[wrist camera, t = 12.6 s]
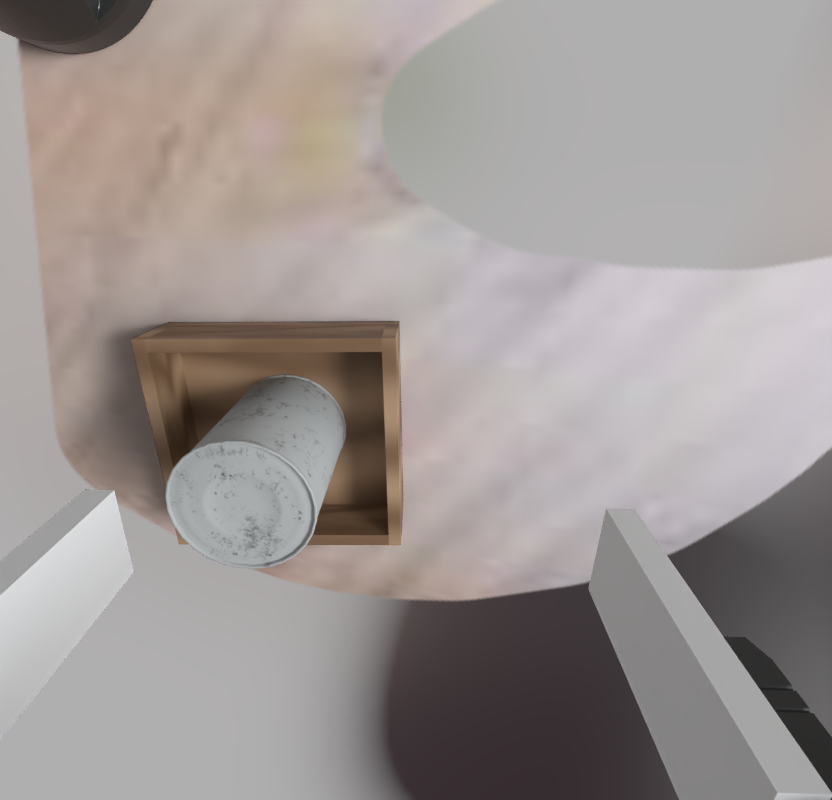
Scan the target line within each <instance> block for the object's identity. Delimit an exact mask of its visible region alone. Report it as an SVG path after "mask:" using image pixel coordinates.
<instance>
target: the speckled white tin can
mask: <svg viewBox="0 0 832 800" xmlns="http://www.w3.org/2000/svg"><path fill="white" fill-rule="evenodd" d="M345 438H346V422H345V418H344V414H343V412H342V410H341V408H340V406H339V404H338V402H337V401H336V400H335V398H334V397H333V396H332V395H331V393H330V392H328V391H327V390H326V389H325V388H323V387H322V386H321V385H319V384H317V383H315V382H314V381H312V380H310V379H307V378H303V377H300V376H296V375H277V376H271V377H268V378H266V379H263V380H261V381H259V382H257V383H256V384H254V385H253V386H252V387H250V388H249V389H248V391H247V392H246V393H245V394H244V395H243V397H242V398H241V399H240V400H239V401H238V402H237V403H236V404H235V405H234V407H233V408H232V409H231V410H230V411H229V412H228V413H227V414H226V415H225V416H224V417H223V418H222V419H221V420H220V421H219V422H218V423H217V424H216V425H215V426H214V427H213V428H212V429H211V430H210V431H209V432H208V434H207V435H206V436H205V437H204V438H203V439H202V440H201V441H200V442H199V443H198V444H197V445H196V446H195V447H194V448H193V449H192V450H191V451H190V452H189V453H187V454H186V455H185V456H183V457H182V458H181V459H180V461H179V462H178V463H177V464H176V466H175V467H174V468H173V469H172V472H171V474H170V476H169V479H168V481H167V486H166V494H165V499H166V506H167V512H168V514H169V516H170V519H171V521H172V524H173V526H174V527H175V528H176V530H177V531H178V533H179V534H180V535H181V537H182V538H183V539H184V540H185V541H186V542H187V543H188V544H189V545H190V546H191V547H192V548H193V549H195V550H197V551H198V552H200V553H202V554H203V555H204V556H206V557H207V558H209V559H212V560H214V561H216V562H219V563H221V564H224V565H228V566H232V567H237V568H248V569H258V568H266V567H272V566H275V565H278V564H281V563H284V562H285V561H287V560H289V559H291V558H292V557H294V556H296V555H297V554H298V553H299V552H300V551H301V550H302V549H303V548H304V547H305V546H306V545H307V544H308V542H309V540H310V538H311V537H312V535H313V533H314V530H315V526H316V522H317V517H318V514H319V511H320V508H321V506H322V503H323V500H324V497H325V494H326V491H327V488H328V485H329V482H330V480H331V477H332V474H333V471H334V468H335V465H336V462H337V459H338V456H339V453H340V451H341V449H342V448H343V445H344V441H345Z"/></svg>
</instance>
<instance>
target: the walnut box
mask: <svg viewBox="0 0 832 800" xmlns="http://www.w3.org/2000/svg"><path fill="white" fill-rule="evenodd" d="M131 344H132V348H133V352H134V356H135V361H136V365H137V369H138V373H139V377H140V382H141V386H142V390H143V394H144V398H145V403H146V407H147V411H148V415H149V419H150V424H151V428H152V432H153V436H154V441H155V445H156V449H157V453H158V457H159V462H160V466H161V470H162V474H163V478H164V483H165V487H166V486H167V481H168V479H169V476H170V474H171V472H172V469H173V468H174V467H175V466H176V464H177V463H178V462H179V461H180V459H181V458H182V457H183V456H185V455H186V454H187V453H189V452H190V451H191V450H192V449H193V448H194V447H195V446H196V445H197V444H198V443H199V442H200V441H201V440H202V439H203V438H204V437H205V436H206V435H207V434H208V432H209V431H210V430H211V429H212V428H213V427H214V426H215V425H216V424H217V423H218V422H219V421H220V420H221V419H222V418H223V417H224V416H225V415H226V414H227V413H228V412H229V411H230V410H231V409H232V408H233V407H234V405H235V404H236V403H237V402H238V401H239V400H240V399H241V398H242V397H243V395H244V394H245V393H246V392H247V391H248V389H249V388H250V387H252V386H253V385H254V384H256V383H257V382H259V381H261V380H263V379H266V378H268V377H271V376H277V375H296V376H300V377H303V378H307V379H310V380H312V381H314V382H315V383H317V384H319V385H321V386H322V387H323V388H325V389H326V390H327V391H328V392H330V393H331V395H332V396H333V397H334V398H335V400H336V401H337V402H338V404H339V406H340V408H341V410H342V412H343V414H344V418H345V422H346V438H345V441H344V445H343V448H342V449H341V451H340V453H339V456H338V459H337V462H336V465H335V468H334V471H333V474H332V477H331V480H330V482H329V485H328V488H327V491H326V494H325V497H324V500H323V503H322V506H321V508H320V511H319V514H318V517H317V522H316V526H315V530H314V533H313V535H312V537H311V538H310V540H309V542H308V544H307V545H401V534H402V520H403V469H402V423H401V377H400V331H399V321H347V322H168V323H166V324H164V325H162V326H159V327H157V328H155V329H153V330H150V331H148V332H146V333H144V334H141V335H139V336H137V337H135V338H132V339H131ZM175 529H176V528H175ZM176 533H177V537H178V541H179V544H188V543H187V542H186V541H185V540H184V539H183V538H182V537H181V535H180V534H179V533H178V531H177V530H176Z"/></svg>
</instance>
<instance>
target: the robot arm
mask: <svg viewBox="0 0 832 800" xmlns="http://www.w3.org/2000/svg"><path fill="white" fill-rule="evenodd" d="M152 1H153V0H0V30H1V31H2V32H5V33H7V34H9V35H11V36H13V37H16V38H18V39H20V40H23V41H25V42H28V43H30V44H32V45H35V46H38V47H40V48H43V49H47V50H50V51H55V52H61V53H87V52H92V51H96V50H100V49H103V48H105V47H108V46H110V45H112V44H114V43H116V42H117V41H119V40H120V39H122V38H123V37H124V36H126V35H127V34H128V33H129V32H130V31H131V30H133V29H134V27H135V26H136V25H137V24H138V23H139V22H140V20H141V19H142V18H143V16H144V15H145V13H146V12H147V10H148V8H149V7H150V5H151V3H152ZM133 572H134V571H133V567H132V563H131V559H130V554H129V550H128V546H127V542H126V538H125V534H124V530H123V525H122V521H121V517H120V513H119V509H118V504H117V500H116V496H115V492H114V490H90V489H85V490H84V491H83V492H82V493H80V495H78V496H77V497H76V498H74V499H73V500H72V501H71V502H70V503H69V504H67V505H66V506H65V507H64V508H63V509H61V510H60V511H59V512H58V513H57V514H55V515H54V516H53V517H52V518H51V519H50V520H48V521H47V522H46V523H45V524H44V525H43V526H41V527H40V528H39V529H38V530H37V531H35V532H34V533H33V534H32V535H31V536H29V537H28V538H27V539H26V540H25V541H23V542H22V543H21V544H20V545H19V546H17V547H16V548H15V549H14V550H13V551H11V552H10V553H9V554H8V555H7V556H6V557H5V558H3V559H2V560H1V561H0V741H1V739H2V738H3V737H4V736H5V734H6V733H7V732H8V731H9V729H10V728H11V727H12V725H13V724H14V723H15V722H16V720H17V719H18V718H19V717H20V715H21V714H22V712H23V711H24V710H25V709H26V708H27V706H28V705H29V704H30V703H31V701H32V700H33V699H34V698H35V696H36V695H37V694H38V693H39V691H40V690H41V689H42V687H43V686H44V685H45V684H46V682H47V681H48V680H49V679H50V677H51V676H52V675H53V674H54V672H55V671H56V670H57V668H58V667H59V666H60V664H61V663H62V662H63V661H64V660H65V658H66V657H67V656H68V655H69V653H70V652H71V651H72V649H73V648H74V647H75V646H76V644H77V643H78V642H79V641H80V639H81V638H82V637H83V636H84V634H85V633H86V632H87V631H88V629H89V628H90V627H91V625H92V624H93V623H94V622H95V620H96V619H97V618H98V617H99V615H100V614H101V613H102V612H103V610H104V609H105V608H106V606H107V605H108V604H109V603H110V601H111V600H112V599H113V597H114V596H115V595H116V594H117V593H118V591H119V590H120V589H121V587H122V586H123V585H124V583H125V582H126V581H127V580H128V579H129V577H130V576H131V575H132V574H133ZM589 591H590V594H591V596H592V598H593V601H594V603H595V605H596V607H597V610H598V612H599V614H600V617H601V619H602V621H603V624H604V626H605V628H606V631H607V633H608V635H609V637H610V640H611V642H612V645H613V647H614V649H615V651H616V654H617V656H618V659H619V661H620V663H621V665H622V668H623V670H624V672H625V675H626V677H627V679H628V682H629V684H630V686H631V688H632V691H633V693H634V696H635V698H636V700H637V703H638V705H639V707H640V710H641V712H642V714H643V717H644V719H645V721H646V724H647V726H648V728H649V730H650V733H651V735H652V737H653V740H654V742H655V744H656V746H657V749H658V751H659V754H660V756H661V758H662V761H663V763H664V765H665V767H666V770H667V772H668V775H669V777H670V779H671V782H672V784H673V786H674V788H675V791H676V793H677V795H678V798H679V800H832V737H831V736H830V734H829V733H828V732H827V731H826V729H825V728H824V727H823V725H822V724H821V723H820V722H819V720H818V719H817V718H816V716H815V715H814V714H813V713H810V712H809V707H808V706H807V705H806V703H805V702H804V701H803V699H802V698H801V697H800V695H799V694H798V693H797V691H793V689H792V685H791V684H790V683H789V681H788V680H787V679H786V677H785V676H784V675H783V673H782V672H781V671H780V670H779V668H778V667H777V666H776V664H775V663H774V662H773V660H772V659H771V658H769V657H768V656H767V655H765V653H763V652H762V651H761V650H760V649H759V648H757V647H756V646H755V645H754V644H753V643H751V642H750V641H749V640H748V639H747V638H745V637H723V636H722V634H721V633H720V631H719V630H718V629H717V627H716V626H715V624H714V623H713V621H712V620H711V618H710V617H709V616H708V614H707V613H706V611H705V610H704V608H703V607H702V606H701V604H700V603H699V601H698V600H697V598H696V597H695V595H694V594H693V593H692V591H691V590H690V588H689V587H688V585H687V584H686V583H685V581H684V580H683V578H682V577H681V575H680V574H679V573H678V571H677V570H676V568H675V567H674V566H673V564H672V562H671V561H670V560H669V558H668V557H667V555H666V554H665V552H664V551H663V549H662V548H661V547H660V545H659V544H658V542H657V541H656V539H655V538H654V536H653V535H652V534H651V532H650V531H649V529H648V528H647V526H646V525H645V524H644V522H643V521H642V519H641V518H640V516H639V515H638V513H637V512H636V511H635V510H628V509H606V512H605V516H604V521H603V525H602V530H601V535H600V539H599V544H598V548H597V553H596V557H595V562H594V566H593V571H592V575H591V580H590V584H589Z"/></svg>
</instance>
